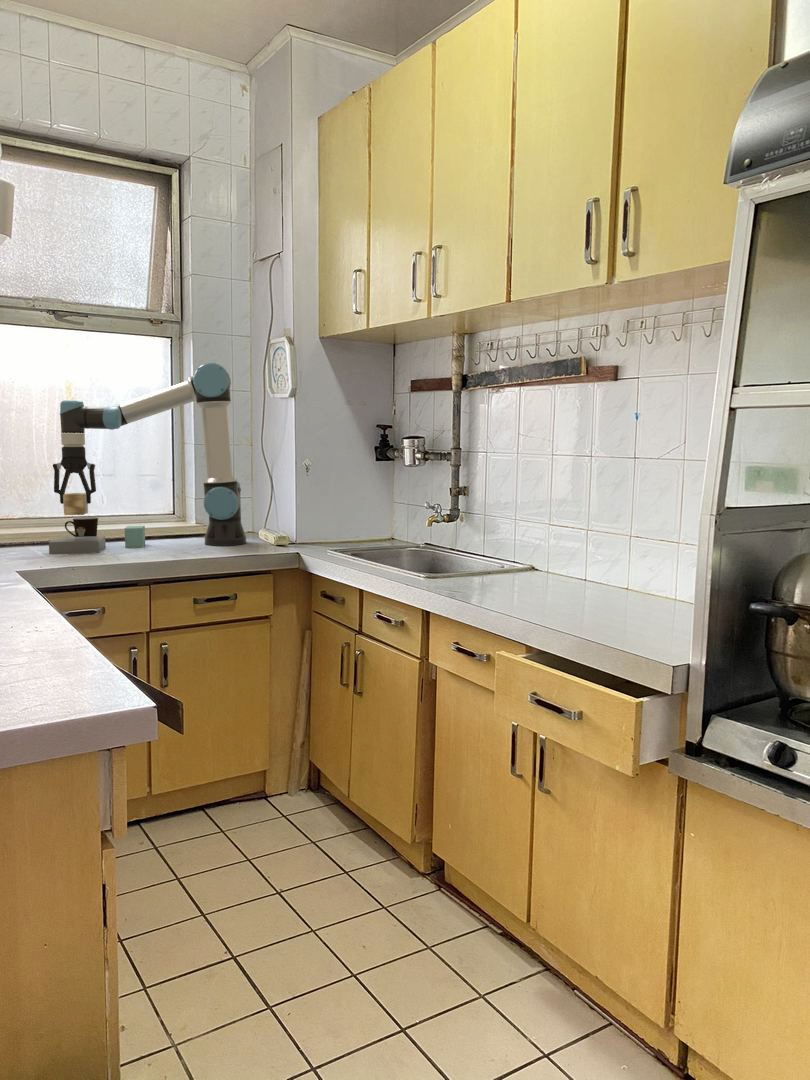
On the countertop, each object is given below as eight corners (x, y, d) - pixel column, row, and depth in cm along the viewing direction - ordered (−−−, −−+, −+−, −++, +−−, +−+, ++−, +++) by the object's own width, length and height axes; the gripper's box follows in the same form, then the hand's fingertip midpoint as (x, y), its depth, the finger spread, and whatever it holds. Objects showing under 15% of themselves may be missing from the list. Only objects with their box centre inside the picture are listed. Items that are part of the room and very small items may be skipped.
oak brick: (87, 512, 290) (86, 492, 289) (83, 514, 282) (82, 494, 281) (69, 512, 289) (68, 492, 288) (64, 515, 281) (63, 494, 280)
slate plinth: (105, 547, 295) (105, 536, 295) (99, 552, 282) (98, 541, 281) (58, 548, 292) (57, 537, 292) (49, 553, 279) (48, 542, 278)
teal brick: (145, 544, 304) (144, 525, 303) (142, 547, 296) (142, 528, 295) (128, 544, 302) (127, 526, 302) (125, 547, 295) (124, 528, 294)
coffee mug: (104, 544, 302) (103, 517, 300) (84, 547, 294) (82, 519, 293) (84, 542, 308) (82, 515, 307) (63, 545, 301) (62, 517, 299)
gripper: (104, 446, 288) (106, 512, 291) (46, 445, 284) (49, 512, 287) (100, 446, 281) (103, 514, 283) (41, 446, 277) (44, 514, 280)
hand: (76, 513), depth 285 cm, fingers closed on oak brick, 6 cm apart
